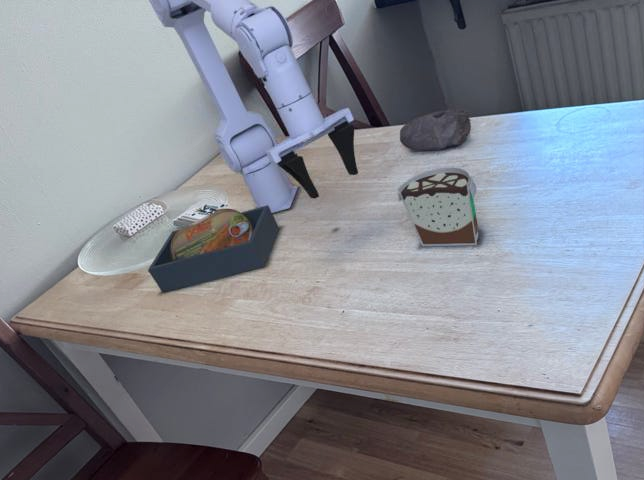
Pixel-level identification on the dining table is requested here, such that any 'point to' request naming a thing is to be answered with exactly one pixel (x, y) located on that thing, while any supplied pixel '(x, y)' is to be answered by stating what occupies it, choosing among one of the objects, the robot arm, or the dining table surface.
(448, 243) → the food container
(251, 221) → the bin
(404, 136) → the perforated stone tool
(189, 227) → the tin
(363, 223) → the dining table surface
